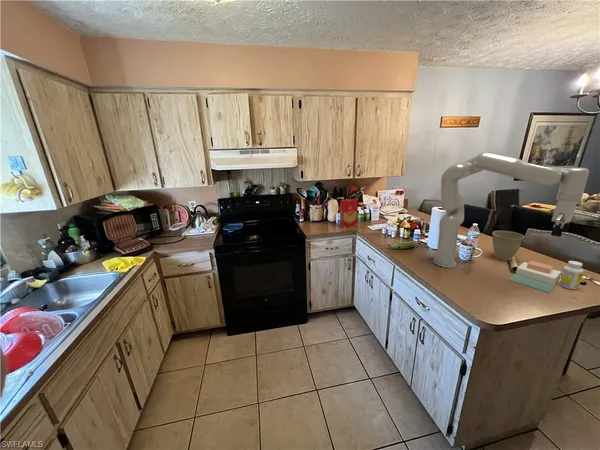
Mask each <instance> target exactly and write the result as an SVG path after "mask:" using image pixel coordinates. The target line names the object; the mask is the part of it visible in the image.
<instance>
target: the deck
mask: <svg viewBox="0 0 600 450" xmlns="http://www.w3.org/2000/svg"><path fill="white" fill-rule="evenodd" d="M528 263H529V262H526V261H524V262H523V263H521V264H520V265H519V266H518V267H517V268H516V271H515V274H517V275H521V276H524V277H527V278H531V279H534V280H538V281H541V282H544V283H548V284H551V285H555V284H557V282H558V281H559V280H560V278H561V275H562V271H560V270H556V269H553V270H552V272H551V273H550V274H547V273H544V272H540V271H536V270H533V269H529V268H527V264H528Z"/></svg>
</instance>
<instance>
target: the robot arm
mask: <svg viewBox="0 0 600 450" xmlns="http://www.w3.org/2000/svg"><path fill="white" fill-rule="evenodd" d="M482 171H487V172H492V173H495V174H500V175H503V176H507V177H510V178H514V179H516V180H517V179H518V180H521V181H524V182H528V183H531V184H536V185H540V186H546V187H547V186H549V187H550V186H555V185H556V184H559V187H558V190H557V194H556V198H555V200H557V202H556V206H555V208H554V211H553V215H552V218H551V222H552V223H554V224H553V227H552V229H551V233H550V235H551V236H553V237H559V238H561V237H562V234H563V233H567V232H568V231H569V228H570V222H571V221H572V219H573V217H574V214H575V210H576V207H577V204H578V202H582V199H583V195H584V191H585V188H586V185H587V181H588V178H589V174H590V170H589V169H588V168H586V167H560V166H559V167H558V166H548V167H547V166H542V165H537V164H534V163H529V162H526V161H524V160H522V159H520V158H517V157H511V156H507V155H502V154H498V153H494V152H493V151H485V152H480V153H479V154H477V155H476V156H475V157H472V158H470V159H468V160H465V161H462V162H459V163H456V164H453V165H451V166H449V167H447V169H446V170H444V172H443V173H442V175H441V177H440V178H441V179H440V189H441V190H440V205H441V209H442V210H443V211H445V212H446V213H445V214H444V215H443V216H442V217H441V218H440V220H439V226H438V227H439V233H438V240H437V241H438V242H437V249H436V253H435V252H430V254H429V255H430V258H433V259H432V263H433V262H434V263H435V264H437V265H439V266H438V267H440V266H442V267H441V268H445V267H447V268H446V269H453V268H456V267H457V262H456V261H455V257H456V250H457V243H458V237H459V235H458V234H459V227H460V226H461V225H462V223H463V222H464V221H465V199H464V196H463V195H461V194H460V193H459V189H460V188H459V181H460V180H462V179H465V178H468V177H470V176H472V175H474V174H477V173H480V172H482ZM434 263H433V264H434ZM435 264H434V265H435ZM437 265H436V266H437Z"/></svg>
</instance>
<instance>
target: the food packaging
mask: <svg viewBox="0 0 600 450" xmlns="http://www.w3.org/2000/svg"><path fill="white" fill-rule="evenodd" d="M339 201H340V203H339V204H340V205H339V226H341V227H342V229H345V228H344V227H348V228H351V227H350V226H354V227H357V226H358V199H356V198H351V199H341V200H339ZM341 227H340V228H341Z"/></svg>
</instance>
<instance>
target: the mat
mask: <svg viewBox="0 0 600 450" xmlns="http://www.w3.org/2000/svg"><path fill="white" fill-rule="evenodd" d="M507 281H508V282H509V281H510V282H511V283H512V282H513V283H515V284H519V285H522V286H525V287H528V288H530V289H531V288H532V289H534V290H537V291H541V292H544V293H547V294H550V293H551V292H552V290H553V289H554V288H555V286H556V285H555V284H554V285H551V284H548V283H544V282H541V281H538V280H534V279H531V278H527V277H524V276H521V275H517V274H516V273H513V274H512V275H511V276H510V277H509V278H507Z"/></svg>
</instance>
